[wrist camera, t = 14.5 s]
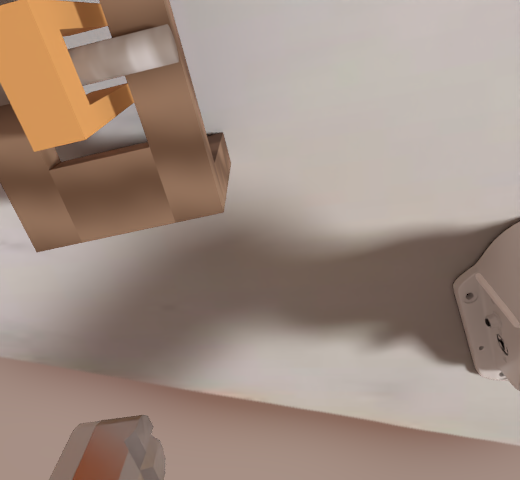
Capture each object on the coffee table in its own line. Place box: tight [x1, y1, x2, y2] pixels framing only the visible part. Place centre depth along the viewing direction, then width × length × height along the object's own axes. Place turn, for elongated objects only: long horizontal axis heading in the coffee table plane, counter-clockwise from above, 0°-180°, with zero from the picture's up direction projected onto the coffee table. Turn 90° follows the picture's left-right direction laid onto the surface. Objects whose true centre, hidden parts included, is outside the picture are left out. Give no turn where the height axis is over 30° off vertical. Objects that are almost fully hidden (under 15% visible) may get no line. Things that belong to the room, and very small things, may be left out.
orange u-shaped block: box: [0, 0, 134, 152], centre depth 26 cm, size 7×3×11 cm, turn 13°
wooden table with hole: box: [0, 0, 231, 252], centre depth 30 cm, size 22×14×14 cm, turn 13°
